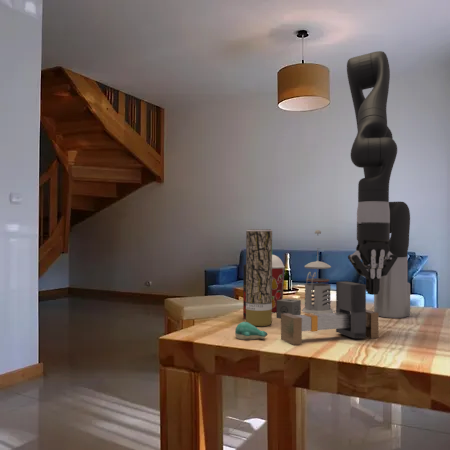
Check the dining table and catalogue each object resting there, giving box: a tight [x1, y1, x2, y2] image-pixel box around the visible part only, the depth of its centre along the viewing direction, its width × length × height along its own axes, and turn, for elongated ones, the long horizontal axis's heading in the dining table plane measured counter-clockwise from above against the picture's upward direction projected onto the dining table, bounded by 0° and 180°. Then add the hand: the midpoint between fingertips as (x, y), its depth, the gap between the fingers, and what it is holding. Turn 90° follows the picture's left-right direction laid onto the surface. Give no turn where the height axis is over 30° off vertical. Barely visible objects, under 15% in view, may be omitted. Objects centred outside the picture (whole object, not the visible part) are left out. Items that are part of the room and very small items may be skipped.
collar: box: [335, 280, 367, 340], centre depth 111 cm, size 3×7×12 cm, turn 20°
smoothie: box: [272, 254, 286, 313], centre depth 146 cm, size 8×8×20 cm
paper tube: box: [245, 228, 273, 327], centre depth 125 cm, size 7×7×25 cm
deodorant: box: [242, 263, 246, 321], centre depth 133 cm, size 6×6×15 cm
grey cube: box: [276, 298, 302, 320], centre depth 135 cm, size 5×5×5 cm
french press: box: [301, 229, 335, 314], centre depth 145 cm, size 10×12×25 cm
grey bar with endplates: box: [280, 309, 379, 346], centre depth 109 cm, size 22×6×6 cm, turn 110°
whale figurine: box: [234, 321, 268, 341], centre depth 109 cm, size 6×7×4 cm
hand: (372, 294), depth 113 cm, fingers closed
